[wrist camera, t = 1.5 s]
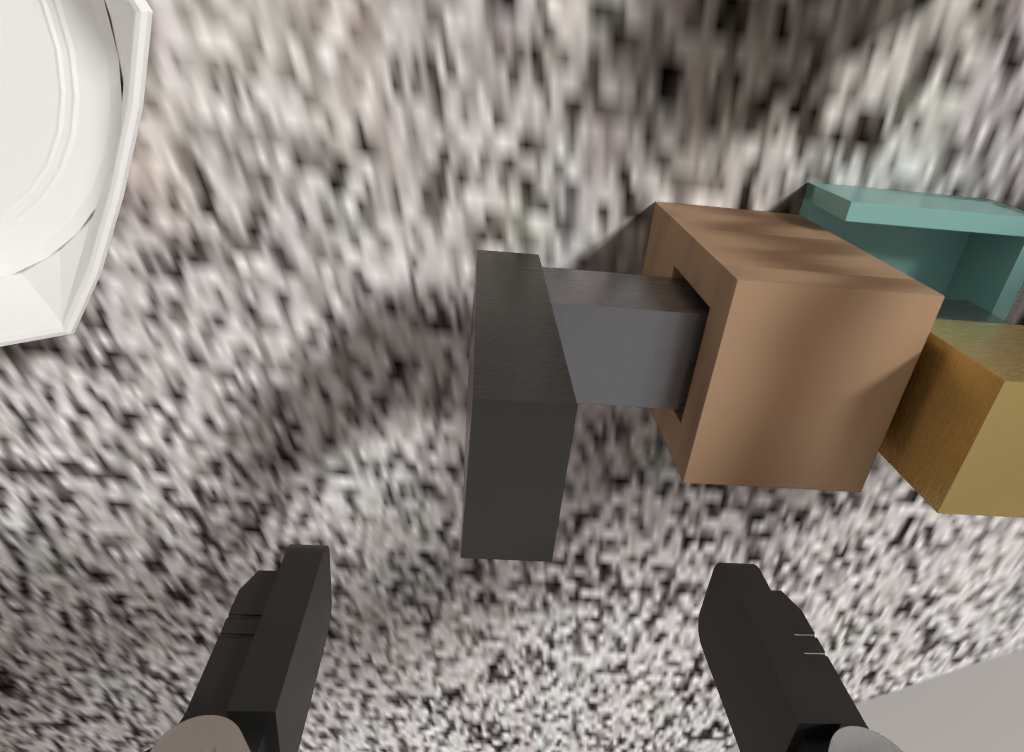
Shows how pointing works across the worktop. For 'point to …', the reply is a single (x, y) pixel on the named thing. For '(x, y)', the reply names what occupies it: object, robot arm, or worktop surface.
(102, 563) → the worktop surface
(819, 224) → the tray
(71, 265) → the pan
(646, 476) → the worktop surface
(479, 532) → the grey l-shaped block
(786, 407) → the block
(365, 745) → the worktop surface
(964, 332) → the block
